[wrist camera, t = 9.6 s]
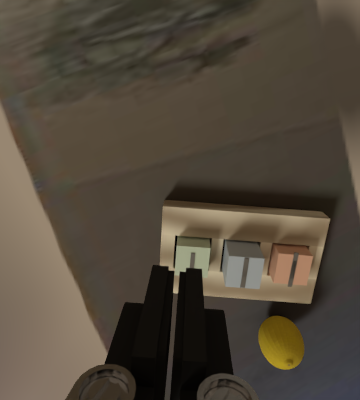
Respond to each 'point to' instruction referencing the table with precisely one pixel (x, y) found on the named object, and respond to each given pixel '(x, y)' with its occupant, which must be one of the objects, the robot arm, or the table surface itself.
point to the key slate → (242, 264)
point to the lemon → (281, 342)
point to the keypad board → (245, 231)
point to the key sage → (192, 254)
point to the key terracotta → (290, 264)
